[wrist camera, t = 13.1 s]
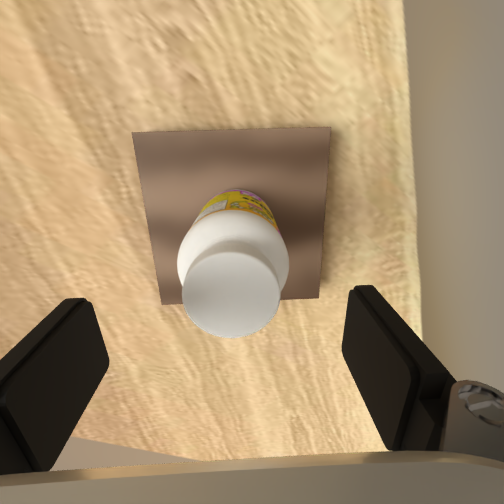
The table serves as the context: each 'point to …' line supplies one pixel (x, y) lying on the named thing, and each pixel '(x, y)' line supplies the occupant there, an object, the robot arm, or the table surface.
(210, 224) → the supplement bottle
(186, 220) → the block
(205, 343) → the table surface
